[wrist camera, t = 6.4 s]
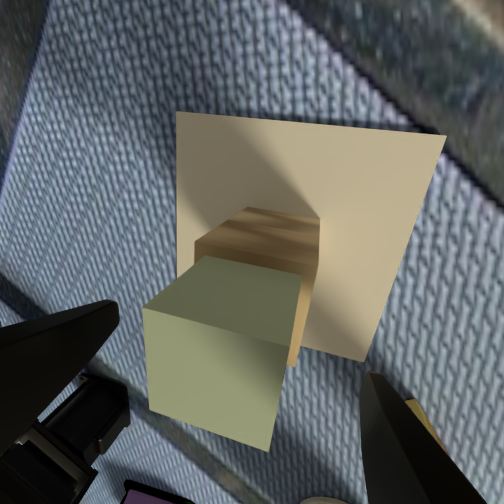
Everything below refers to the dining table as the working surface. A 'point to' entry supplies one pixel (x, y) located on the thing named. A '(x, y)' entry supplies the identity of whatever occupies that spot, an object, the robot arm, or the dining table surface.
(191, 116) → the felt mat
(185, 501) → the miniature room corner
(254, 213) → the tower base block
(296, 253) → the tower top block
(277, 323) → the sage cube
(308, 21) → the dining table surface
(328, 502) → the bottle
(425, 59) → the dining table surface
